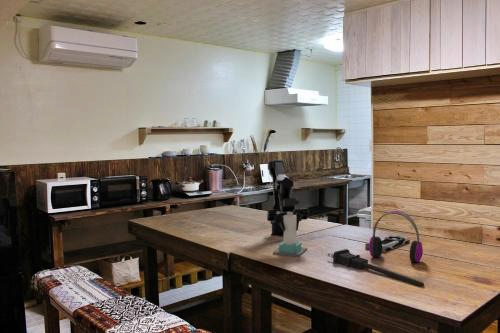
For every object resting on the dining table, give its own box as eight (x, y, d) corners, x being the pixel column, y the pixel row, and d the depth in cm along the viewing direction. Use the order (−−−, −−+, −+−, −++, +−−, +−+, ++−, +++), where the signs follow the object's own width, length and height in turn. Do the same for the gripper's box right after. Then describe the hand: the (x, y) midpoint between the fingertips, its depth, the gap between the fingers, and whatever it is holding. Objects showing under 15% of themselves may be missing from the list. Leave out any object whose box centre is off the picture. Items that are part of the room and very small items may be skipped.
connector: (283, 244, 188) (283, 212, 187) (290, 242, 191) (290, 210, 190) (290, 245, 185) (289, 213, 184) (296, 244, 188) (296, 212, 187)
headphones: (423, 260, 173) (424, 211, 171) (420, 266, 165) (421, 215, 164) (372, 253, 183) (372, 208, 182) (367, 258, 176) (367, 211, 174)
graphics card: (365, 243, 190) (392, 233, 207) (365, 250, 190) (392, 240, 208) (385, 247, 183) (412, 236, 200) (385, 254, 183) (412, 243, 200)
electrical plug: (339, 257, 179) (339, 245, 179) (429, 289, 146) (430, 275, 145) (324, 261, 174) (324, 249, 174) (414, 295, 141) (415, 280, 140)
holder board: (273, 254, 185) (272, 245, 185) (282, 247, 196) (281, 239, 196) (299, 256, 180) (299, 247, 180) (307, 249, 191) (307, 241, 191)
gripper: (267, 191, 189) (271, 221, 179) (308, 190, 191) (314, 219, 181) (265, 206, 198) (269, 235, 187) (304, 204, 200) (310, 233, 190)
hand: (290, 230), depth 186 cm, fingers closed on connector, 5 cm apart
